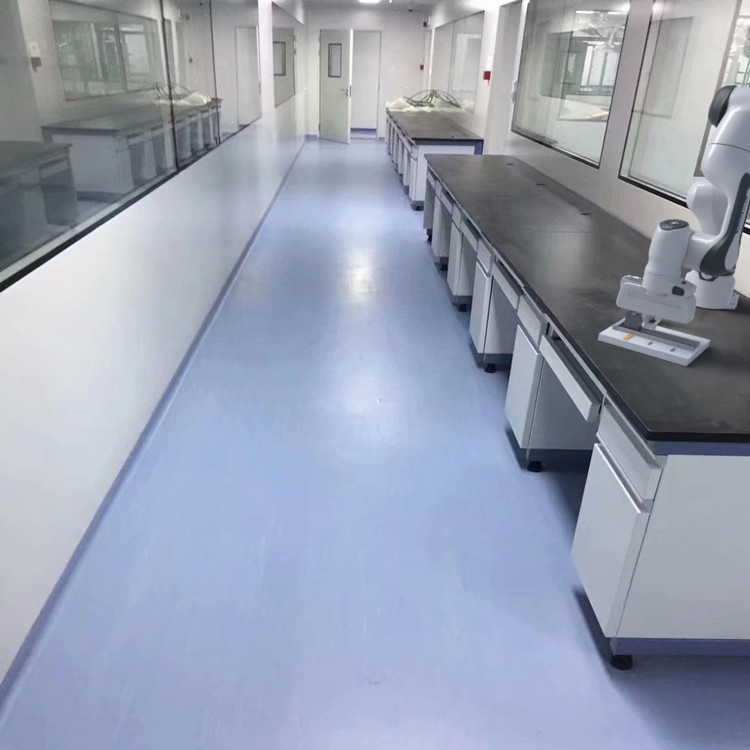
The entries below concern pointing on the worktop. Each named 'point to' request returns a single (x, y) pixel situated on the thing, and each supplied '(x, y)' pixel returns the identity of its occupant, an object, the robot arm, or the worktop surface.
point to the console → (656, 342)
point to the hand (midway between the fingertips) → (649, 329)
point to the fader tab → (633, 321)
